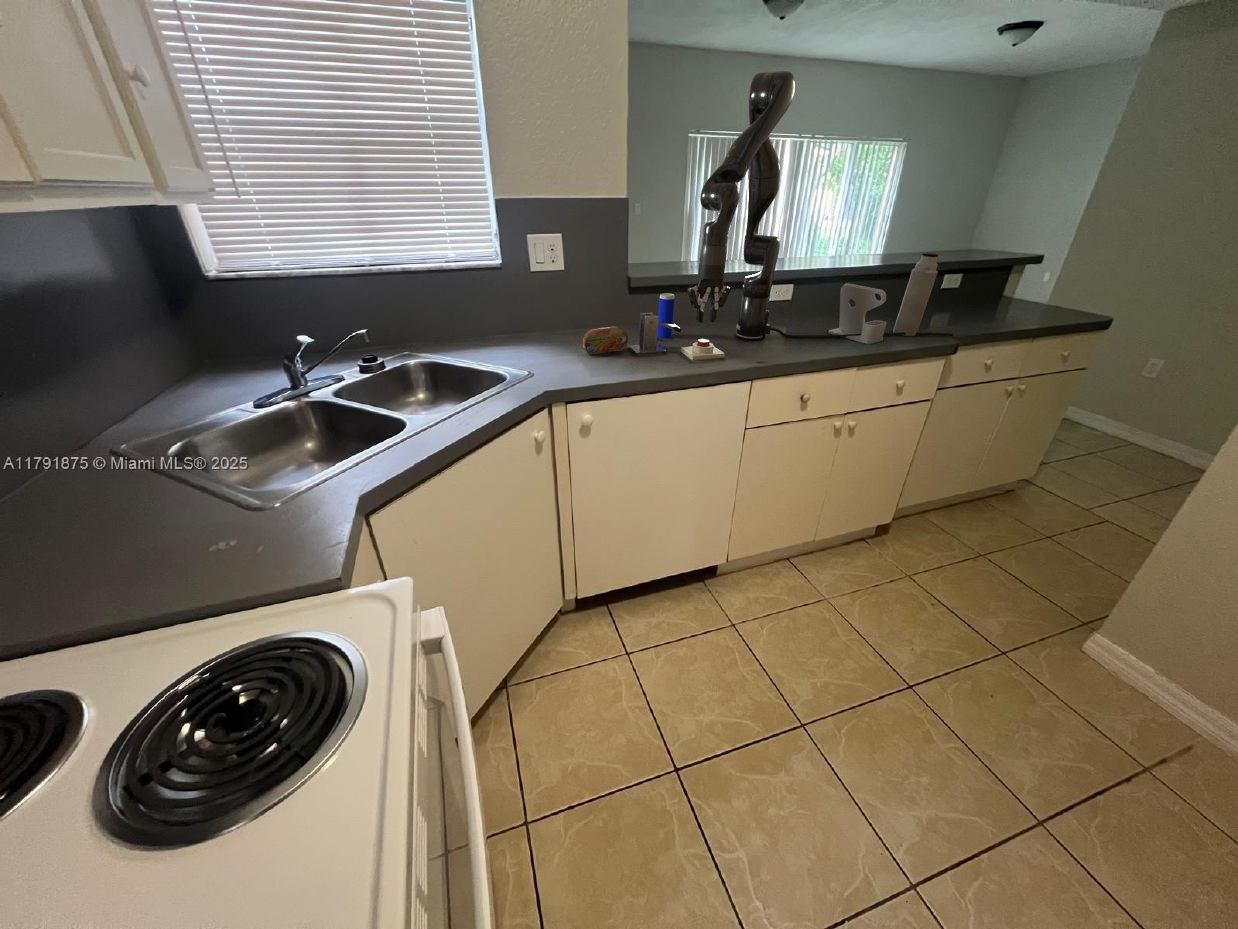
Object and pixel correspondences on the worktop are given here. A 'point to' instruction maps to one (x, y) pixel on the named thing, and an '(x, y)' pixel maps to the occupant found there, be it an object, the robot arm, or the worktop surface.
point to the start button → (703, 342)
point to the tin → (605, 340)
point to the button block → (702, 352)
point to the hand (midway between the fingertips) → (705, 321)
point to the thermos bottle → (917, 295)
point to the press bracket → (647, 335)
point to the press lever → (668, 326)
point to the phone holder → (860, 314)
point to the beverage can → (666, 314)
